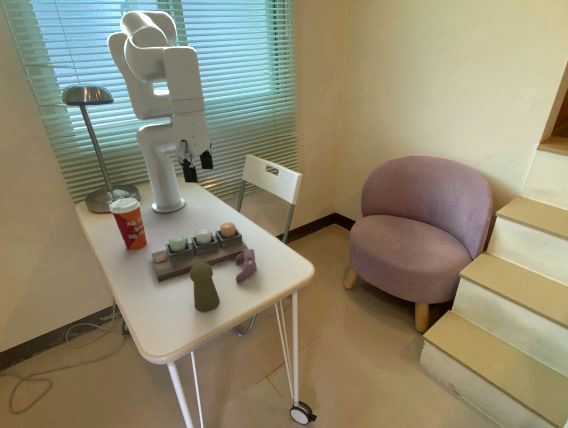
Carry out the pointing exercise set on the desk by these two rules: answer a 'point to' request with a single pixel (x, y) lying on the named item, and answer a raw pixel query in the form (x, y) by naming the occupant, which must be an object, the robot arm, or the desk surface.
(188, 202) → the desk surface
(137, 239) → the coffee cup
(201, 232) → the white egg
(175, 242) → the pale green egg
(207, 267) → the olive green skittle
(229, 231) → the brown egg
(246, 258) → the video game controller
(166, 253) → the board
